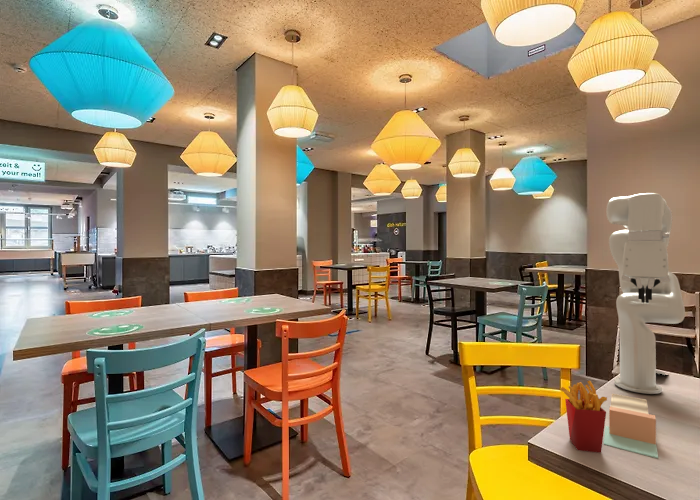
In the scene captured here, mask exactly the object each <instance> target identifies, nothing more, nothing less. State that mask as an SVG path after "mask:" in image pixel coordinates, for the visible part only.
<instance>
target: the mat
mask: <svg viewBox="0 0 700 500" xmlns="http://www.w3.org/2000/svg"><path fill="white" fill-rule="evenodd" d="M603 446H608V447H612V448H615V449H620V450H622V451H628V452H630V453H635V454H639V455H643V456H647V457H650V458H654V459H659V454H658V448H657V444H656V445H655V444H651V443H647V442H643V441H638V440H634V439H630V438H626V437H622V436H617V435H613V434H609V425H605V426H604V435H603Z"/></svg>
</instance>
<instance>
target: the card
mask: <svg viewBox="0 0 700 500" xmlns="http://www.w3.org/2000/svg"><path fill="white" fill-rule="evenodd" d="M608 414H609V416H608V420H609V425H608V426H609V434H613V435H617V436H622V437H626V438H630V439H634V440H638V441H643V442H647V443H651V444H655V445H656V446H657V430H656V429H657V428H656V426H657V424H656V423H657V422H656V421H657V420H656V415H655V414H649V413H648V414H645V413H640V412H635V411H631V410H626V409H621V408H616V407H611V405H610V406H609V413H608Z"/></svg>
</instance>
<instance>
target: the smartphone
mask: <svg viewBox="0 0 700 500" xmlns="http://www.w3.org/2000/svg"><path fill="white" fill-rule="evenodd" d="M656 373H657V374H656V375H660V374H662V375H661V376H665V375H666V374H665V373H666V372H665V371H662V370H657V369H656Z"/></svg>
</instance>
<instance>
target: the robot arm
mask: <svg viewBox="0 0 700 500" xmlns="http://www.w3.org/2000/svg"><path fill="white" fill-rule="evenodd" d="M605 213H606V219H607V221H608V222H609V224H611V225H612V224H613V225H619V226H622V227H624V228H626V229H621V230H617V231H614V232H613V233H611V234H610V236H609V238H608V246H609V252H610V255H611V257H612V259H613V261H614V262H615V264H616V266H617V269H618V279H619V287H620V291H621V292H622V293H620V294H619V295H618V296H617V298H616V302H615V304H616V305H615V306H616V310H617V311H616V312H617V317H618V325H619V326H618V327H619V377H616V378H615V379H614V384H615V386H617V387H619V388H621V389H623V390H626V391H629V392H633V393H639V394H648V395H649V394H650V395H654V394H655V395H657V394H660V393H662V391H663V386H661V385H660V384H658V383H657V381H656V380H657V374H656V370H657V366H656V365H657V360H656V358H657V357H656V355H657V353H656V352H657V351H656V349H657V348H656V345H657V344H656V340H657V339H656V335H655V333H654V331H652V329H651V328H650V327H649V326H648V325H646V323H658V324H671V325H672V324H673V325H674V324H675V325H676V324H679V323H682V322H683V321H684V319H685V317H686V309H685V303H684V299H683V294H682V290H681V286H680V282H679V279H678V277H677V276H676V274H674V273H673V272H671V271H669V270H670V265H669V254H668V247H669V246H670V245H669V244H670V238H671V231H672V225H673V224H672V223H673V214H672V213H673V212H672V209H671V208H670V206H668V205H667V201H666V199H664V198H663V195H661V194H660V193H657V192H646V193H637V194H633V195H628V196H627V195H626V196H615V197H611V198H610V199H609V200H608V202H607V205H606V211H605Z"/></svg>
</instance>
